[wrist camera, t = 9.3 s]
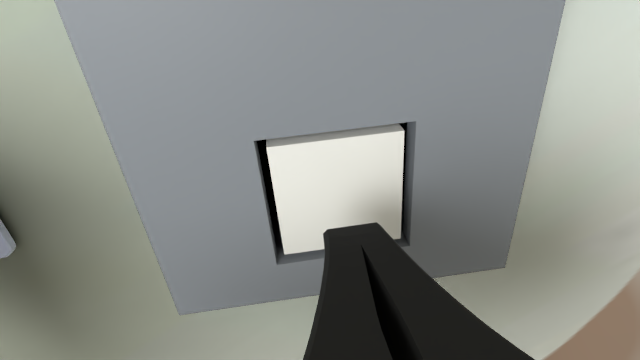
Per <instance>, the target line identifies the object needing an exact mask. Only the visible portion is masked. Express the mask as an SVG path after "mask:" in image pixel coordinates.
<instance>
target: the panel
mask: <svg viewBox="0 0 640 360" xmlns="http://www.w3.org/2000/svg"><path fill="white" fill-rule="evenodd" d="M54 1H55V4H56V6H57V9H58V11H59V14H60V16H61V19H62V21H63V24H64V26H65V29H66V32H67V34H68V37H69V39H70V42H71V44H72V47H73V49H74V52H75V54H76V57H77V59H78V62H79V64H80V67H81V69H82V72H83V74H84V77H85V79H86V82H87V84H88V87H89V89H90V92H91V94H92V97H93V99H94V102H95V104H96V107H97V109H98V112H99V114H100V117H101V120H102V122H103V125H104V127H105V130H106V132H107V135H108V137H109V140H110V142H111V145H112V147H113V150H114V152H115V155H116V157H117V160H118V162H119V165H120V167H121V170H122V172H123V175H124V177H125V180H126V182H127V185H128V187H129V190H130V192H131V195H132V197H133V200H134V202H135V205H136V208H137V210H138V213H139V215H140V218H141V220H142V223H143V225H144V228H145V230H146V233H147V235H148V238H149V240H150V243H151V245H152V248H153V250H154V253H155V255H156V258H157V260H158V263H159V265H160V268H161V270H162V273H163V275H164V278H165V280H166V283H167V285H168V288H169V290H170V293H171V296H172V298H173V301H174V303H175V306H176V308H177V311H178V313H179V315H184V314H191V313H198V312H205V311H212V310H218V309H225V308H232V307H239V306H246V305H253V304H259V303H266V302H273V301H280V300H287V299H294V298H300V297H307V296H314V295H320V289H321V283H322V276H323V269H324V258H325V249H321V250H314V251H307V252H300V253H293V254H286V255H284V250H283V244H282V238H281V232H280V226H279V220H278V217H276V218H271V217H270V211H269V206H268V200H267V195H266V189H265V184H264V178H263V173H262V167H261V162H260V156H259V151H258V145H257V140H265V139H273V138H281V137H290V136H298V135H306V134H314V133H323V132H331V131H339V130H347V129H356V128H364V127H372V126H380V125H389V124H397V123H405V122H407V139H406V164H405V190H404V201H402V214H401V238H400V239H393V240H394V241H395V242H396V243H397V244H398V245H399V246H400V247H401V248H402V249H403V250H404V251H405V252H406V253H407V254H408V255H409V256H410V257H411V258H412V259H413V260H414V261H415V262H416V263H417V264H418V265H419V266H420V267H421V268H422V269H423V270H424V271H425V272H426V273H427V274H428V275H429V276H430V277H431V278H437V277H444V276H451V275H457V274H464V273H471V272H478V271H485V270H491V269H498V268H505V265H506V260H507V256H508V252H509V247H510V243H511V238H512V234H513V230H514V225H515V221H516V216H517V212H518V208H519V203H520V199H521V194H522V190H523V185H524V181H525V177H526V172H527V168H528V163H529V159H530V155H531V150H532V146H533V141H534V137H535V133H536V128H537V124H538V119H539V115H540V111H541V106H542V102H543V97H544V93H545V88H546V84H547V80H548V75H549V71H550V66H551V62H552V58H553V53H554V49H555V44H556V40H557V36H558V31H559V27H560V22H561V18H562V14H563V9H564V5H565V0H54Z"/></svg>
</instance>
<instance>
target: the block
mask: <svg viewBox="0 0 640 360" xmlns="http://www.w3.org/2000/svg"><path fill="white" fill-rule="evenodd" d="M266 149H267V155H268V161H269V167H270V173H271V179H272V184H273V190H274V196H275V202H276V208H277V214H278V220H279V226H280V232H281V238H282V244H283V250H284V255H286V254H293V253H300V252H307V251H314V250H321V249H324V239H323V233H324V232H325V231H326V230H327V229H333V228H340V227H347V226H354V225H361V224H368V223H375V222H377V223H378V224H380V225H381V226H382V227H383V228H384V230H385V231H386V232H387V233H388V234H389V235H390V236H391V237H392V238H393V239H400V238H401V214H402V186H403V158H404V129H403V128H402V127H401V126H400V124H399V123H397V124H389V125H380V126H372V127H364V128H356V129H347V130H339V131H331V132H323V133H314V134H306V135H298V136H290V137H281V138H273V139H266Z"/></svg>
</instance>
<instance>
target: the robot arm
mask: <svg viewBox="0 0 640 360" xmlns="http://www.w3.org/2000/svg"><path fill="white" fill-rule="evenodd" d="M323 239H324V249H325V258H324V269H323V276H322V283H321V289H320V295H319V300H318V305H317V309H316V313H315V317H314V322H313V326H312V330H311V334H310V338H309V341H308V345H307V348H306V352H305V355H304V358H303V360H534V359H533V358H532V357H530V356H529V355H527V354H526V353H524V352H523V351H522V350H520V349H519V348H517V347H516V346H514V345H513V344H512V343H510V342H509V341H508V340H506V339H505V338H504V337H502V336H501V335H500V334H498V333H497V332H495V331H494V330H493V329H491V328H490V327H489V326H488V325H486V324H485V323H484V322H482V321H481V320H480V319H479V318H477V317H476V316H475V315H474V314H473V313H471V312H470V311H469V310H468V309H466V308H465V307H464V306H463V305H462V304H461V303H459V302H458V301H457V300H456V299H455V298H454V297H452V296H451V295H450V294H449V293H448V292H447V291H446V290H444V289H443V288H442V287H441V286H440V285H439V284H438V283H437V282H436V281H435V280H434V279H432V278H431V277H430V276H429V275H428V274H427V273H426V272H425V271H424V270H423V269H422V268H421V267H420V266H419V265H418V264H417V263H416V262H415V261H414V260H413V259H412V258H411V257H410V256H409V255H408V254H407V253H406V252H405V251H404V250H403V249H402V248H401V247H400V246H399V245H398V244H397V243H396V242H395V241H394V240H393V238H392V237H391V236H390V235H389V234H388V233H387V232H386V231H385V230H384V228H383V227H382V226H381V225H380V224H378V223H377V222H375V223H368V224H361V225H354V226H347V227H340V228H333V229H327V230H326V231H325V232H324V233H323ZM15 248H16V244H15V241H14V240H13V238H12V237H11V235H10V234H9V232H8V230H7V229H6V227H5V226H4V224H3V223H2V221H1V219H0V258H5V257H8V256H9V255H10V254H11V253H12V252H13V251H14V250H15Z"/></svg>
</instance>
